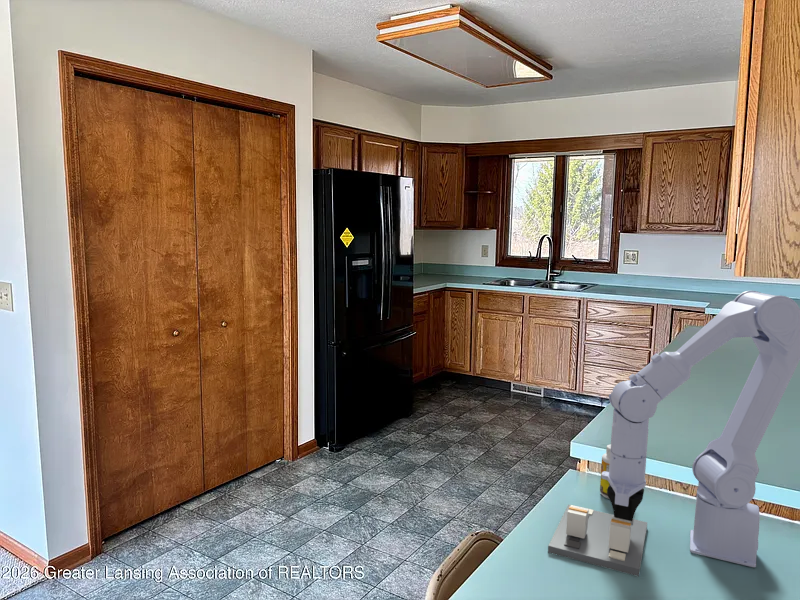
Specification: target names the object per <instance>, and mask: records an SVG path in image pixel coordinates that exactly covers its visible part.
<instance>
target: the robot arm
mask: <svg viewBox="0 0 800 600" xmlns="http://www.w3.org/2000/svg"><path fill="white" fill-rule="evenodd" d="M734 338H751V339H752V341H753V343H754V345H755V347H756V349H757V351H758V352H759V353H758V355H757V357H756V360H755V361H754V364H753V366H752V368H751V371H750V373H749V375H748V377H747V378H746V381H745V383H744V386H743V388H742V390H741V391H740V394H739V396H738V399H737V400H736V402H735V404H734V407H733V409H732V411H731V413H730V415H729V417H728V420H727V422H726V424H725V426H724V428H723V430H722V432H721V434H720V436H719V437H716V438H715V439H713V440H711V441H709V442H708V444H707V445H706V448H705V449H704V450H703V451H702V452H701V453H700V454H698V455H697V456H696V457H695V459H694V460H693V462H692V469H691V470H692V473H693V477H694V478H695V479H696V480H697V481H698V484H697V485H698V487H697V489H696V498H695V499H696V500H695V511H694V519H693V520H694V523H693V529H690V531H689V532H690V533H689V552H690V553H692V554H696V555H700V556H703V557H707V558H713V559H717V560H721V561H725V562H730V563H734V564H738V565H741V566H747V567H749V568H756V567H757V554H758V549H759V533H760V521H761V520H760V518H761V517H760V507H759V505H757V504H754V503H750V502H751V501H752V500H753V498H754V497H755V494H756V479H757V477H758V474H759V472H760V469H759V466H758V461H757V457H756V452H757V450H758V448H759V445H760V443H761V441H762V439H763V437H764V435H765V433H766V431H767V429H768V427H769V425H770V423H771V421H772V420H773V417H774V415H775V412H776V410H777V408H778V406H779V405H780V402H781V400H782V397H783V395H784V394H785V392H786V390H787V387H788V386H789V383H790V382H791V379H792V378H793V375H794V374H795V371H796V369H797V366H798V365H799V363H800V306H799V305H798V303H797V302H796V301H795V300H794V299H792V298H791V297H789V296H786V295H774V294H770V293H762V292H760V291H756V290H746V291H743V292H741V293H740V294H738V295H737V296H736V297H735V298H734V299H733V300H731V301H729V302H727V303H726V304H725V305H723V306H722V308H721V309H720V311H719V312H718V313H717V314H716V315H715V316H714V317H713V318H712V319H710V320H709V321H708V322H707V323H706V324H704V325H703V327H702V328H700V329H699V330H698V331H697V332H696V333H695V334H694V335H692V337H690V338H689V339H688V340H687V341H686V342H685V343H684V344H682V345H681V347H679V348H678V349H677V350H676V351H663V352H661V353H660V354H658V353H654V354H653V355H652V356H651V357H650V360H651V361H650V362H649V363H648V364H647V365H645V367H643V368H642V369H640V370H639V371H637V373H635V374H634V373H631V374H630V375H629V376H628V378H629V380H625V381H624V380H623V381H619V382H618V383H617V384H616V385H614V386H613V388H612V391H611V392H610V393H609V394H608V400H609V403H610V405H611V406H612V407H613V415H612V423H611V434H610V435H611V437H610V444H611V449H610V464H609V472H606V471H603V472H602V474H601V473H600V479H601V478H602V479H605V480H608V482H609V483H610V484H609V486H608V489H607V495H608V497H609V501H610V504H611V506H612V512H613V515H614V517H615V518H620V519H624V520H628V521H633V519H634V518H635V514H636V511H637V508H638V507H639V505H641V503H642V501H643V500H644V493H645V487H646V486H647V485H646V483H647V480H646V468H647V455H648V454H647V453H648V441H649V440H648V439H649V438H648V437H649V421H650V418H653V417H654V415H655V413H657V408H658V404H659V403H661V401H663V400H664V399H666V398H667V397H668V396H669V395H671V394H672V393H673V392H674V391H675V390H677V389H678V388H679V387H681V386H682V385H684V383H685V382H688V380H689V379H690V378H691V371H692V368H693V366H695V365H697V364H699V362H701V361H702V360H704V359H705V358H706V357H708V356H710V355H711V354H712V353H714V352H715V351H717V350H718V349H719V348H721V347H722V346H723V345H725V344H726V343H727V342H730V340H733V339H734ZM631 525H632V523H631Z"/></svg>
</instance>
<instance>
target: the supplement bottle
mask: <svg viewBox="0 0 800 600" xmlns="http://www.w3.org/2000/svg"><path fill="white" fill-rule="evenodd" d="M610 449H611V443H610V444H607V445H606V450H605V453H603V454H602V456H601V466H600V475H601V474H602V472H603V471H606V472H609V464H610ZM599 482H600V485H599V493H600V495H601V496H602V497H604V498H606V499H609V497H608V495H607V489H608V486H609V484H610V483H609V482H608V480H605V479H602V478H601V477H600V481H599ZM609 500H610V499H609Z"/></svg>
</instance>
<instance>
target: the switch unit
mask: <svg viewBox="0 0 800 600" xmlns="http://www.w3.org/2000/svg"><path fill="white" fill-rule="evenodd" d="M571 505H572V504H567V506H566V507H565V508H566V509H565V511H564V512H563V515H562V516H561V519H560V521H559V523H558V524H557V527H556V529H555V531H554V533H553V535H552V538H550V542H549V544H548V547H547V553H548V554H552V553H553V554H552V555H556V554H557V555H556V556H559V555H560V557H563V558H567V559H571V560H574V561H575V560H576V561H578V562H582V563H586V564H591V565H594V566H598V567H602V568H604V569H605V568H606V569H609V570H612V571H616V572H620V573H625V574H627V575H631V576H635V577H639V576H640V572H641V567H642V566H641V565H642V560H643V556H644V555H643V554H644V548H645V543H646V535H647V530H648V522H647V521H643V520H638V519H635V518H633V521H632V525H631V536H630V546H629V551H628V553H627V552H623V551H619V550H615V549H611V548H609V534H610V523H611V519H612V517H614V514H613V513H607V512H603V511H597V510H595V509H593V508H592V509H591V508H588V509H589V512H588V527H587V533H586V536H585V538H584V539H583V538H579V537H575V536H571V535H567V534H566V529H567V512H568V510H569V507H570V506H571Z"/></svg>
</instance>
